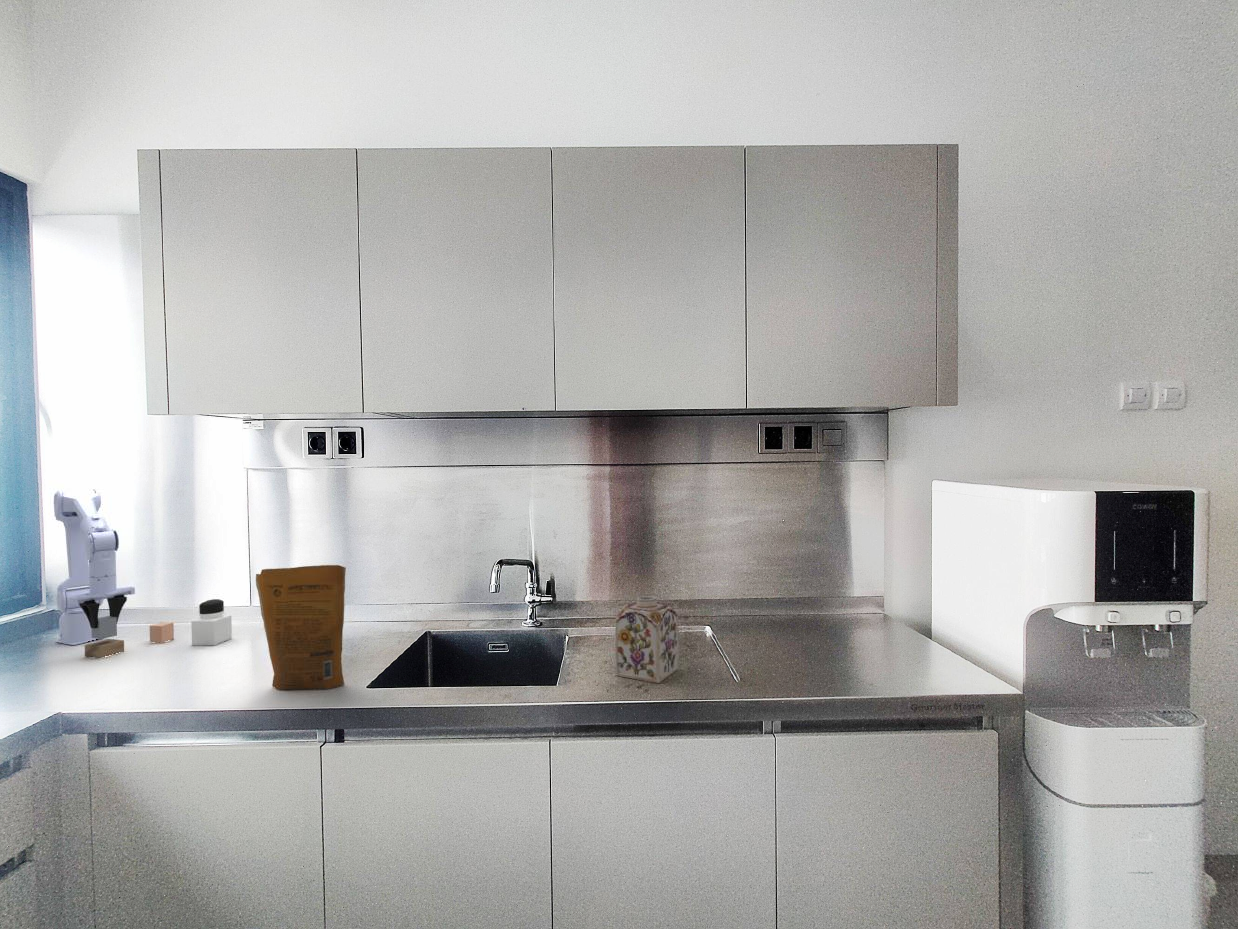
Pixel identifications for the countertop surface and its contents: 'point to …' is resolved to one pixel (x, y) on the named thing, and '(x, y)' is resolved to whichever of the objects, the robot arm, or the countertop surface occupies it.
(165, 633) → the terracotta block
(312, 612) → the pancake mix bag
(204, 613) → the medicine bottle
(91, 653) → the walnut block
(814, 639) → the countertop surface
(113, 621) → the slate block
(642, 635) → the decorative jar
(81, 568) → the robot arm
